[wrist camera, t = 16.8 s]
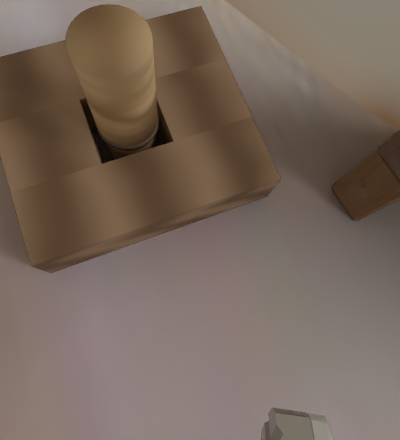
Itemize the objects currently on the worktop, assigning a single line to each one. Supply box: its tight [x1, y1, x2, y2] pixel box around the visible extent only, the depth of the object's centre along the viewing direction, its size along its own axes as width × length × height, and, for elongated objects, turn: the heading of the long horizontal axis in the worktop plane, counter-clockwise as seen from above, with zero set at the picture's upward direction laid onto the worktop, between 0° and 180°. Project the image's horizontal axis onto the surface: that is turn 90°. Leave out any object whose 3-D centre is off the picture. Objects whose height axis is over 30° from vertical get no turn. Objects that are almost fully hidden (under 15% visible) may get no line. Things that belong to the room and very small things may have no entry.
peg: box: [66, 5, 159, 160], centre depth 24 cm, size 4×4×12 cm
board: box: [0, 6, 281, 273], centre depth 28 cm, size 18×16×4 cm
